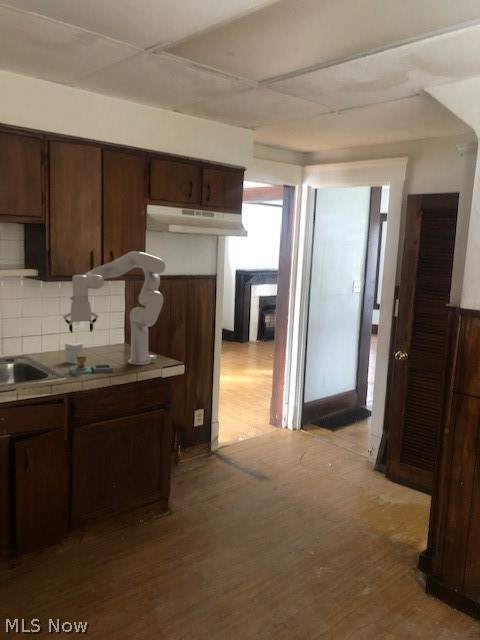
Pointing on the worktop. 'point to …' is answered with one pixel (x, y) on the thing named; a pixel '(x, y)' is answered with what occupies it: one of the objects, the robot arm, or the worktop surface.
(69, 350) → the small box
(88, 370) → the tile
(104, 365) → the socket
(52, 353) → the worktop surface
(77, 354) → the t-key
